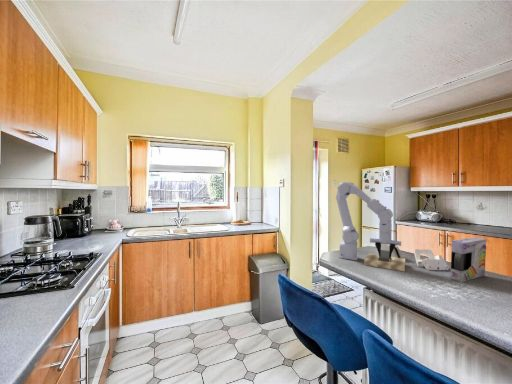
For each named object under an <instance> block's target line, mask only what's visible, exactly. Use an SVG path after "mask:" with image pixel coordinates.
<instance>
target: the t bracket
mask: <svg viewBox="0 0 512 384" xmlns="http://www.w3.org/2000/svg"><path fill="white" fill-rule="evenodd" d="M389 253H390V251H387V250H382V249H381V259H380V261H386V262H390V259H389Z"/></svg>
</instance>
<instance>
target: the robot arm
mask: <svg viewBox="0 0 512 384" xmlns="http://www.w3.org/2000/svg"><path fill="white" fill-rule="evenodd" d="M336 189H337V192H336V197H335V199H336V203H337V206H338V207H337V208H338V212H339V215H340V219H341V223H342V226H343V228H342V240H343V241H340V242H339V258H340V259H344V260H352V261H357V260H358V259H359V258H360V256H359V255H358V241H357V240H359V236H360V235H359V232H358V231H357V229H356V227H355V226H354V224H353V221H352V220H353V219H352V217H351V213H350V209H349V206H348V201H347V198H348V197H349V196H350V195H356V196H357V197H358V198H360V199H361V200H362V201H363V202H365V203H366V205H367V208H368V209H370V210H371V211H372V213H375V215H377V217H378V219H379V228H378V230H379V232H378V235H379V236H378V238H369V243H371V244H372V243H374V245H375V247H376V250H377V253H378V255H379V257H381V250H382V249H381V243H382V244H390V246H389V248H390V253H389V259H391V254H392V252H393V250H394V248H395V245H397V246H398V247H402V241H400V240H393V239H392V234H393V233H392V218H393V216H394V213H393V211H392V210H391V209H390V208H388V207H387V206H385V205H383V204H382V203H380V200H379V199H375V198H371V197H370V196H369V195H368V194H367V193H365V192H364V191H363V190H362V189H361V188H360V187H359V186H358V185H356V184H355V183H354V182H351V181H350V182H349V181H346V182H345V181H343V182H340V183H339V185H338V186H337V187H336Z"/></svg>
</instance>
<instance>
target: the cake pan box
mask: <svg viewBox="0 0 512 384" xmlns="http://www.w3.org/2000/svg"><path fill="white" fill-rule="evenodd" d="M450 251H451V254H450V255H451V256H450V261H451V262H450V280H453V281H456V280H457V281H456V282H459V281H460V283H462V281H463V282H467V281H470V280H473V279H478V278H481V277H485V275H486V257H487V239H486V238H484V237H483V238H482V237H477V236H474V237H468V238H467V237H465V238H461V239H453V240H451V250H450ZM466 280H467V281H466Z"/></svg>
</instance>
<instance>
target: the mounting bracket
mask: <svg viewBox="0 0 512 384" xmlns="http://www.w3.org/2000/svg"><path fill="white" fill-rule="evenodd" d="M413 254H414V258H415V262H416V266H417V267H418V268H419V267H422V268H425V269H426V270H427V271H448V270H449V269H450V266H449V265H448V264H447V262H446V261H445V259H444V258H443V256H442V255H441V254H438V255H435V254H434V252H433V251H432V249H418V248H417V249H414V250H413ZM422 254H423V255H426V256H427V258H423V259H422V258H421V255H422Z"/></svg>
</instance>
